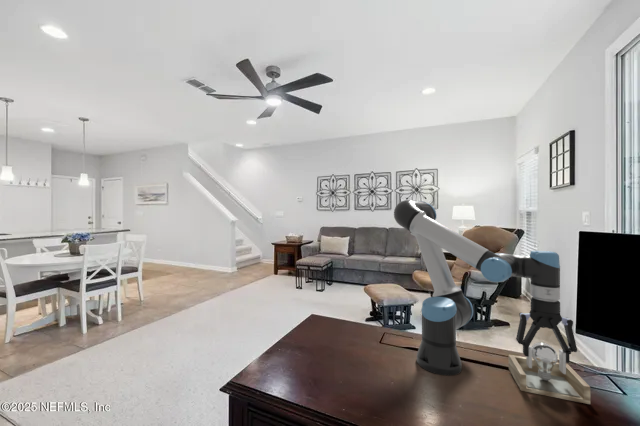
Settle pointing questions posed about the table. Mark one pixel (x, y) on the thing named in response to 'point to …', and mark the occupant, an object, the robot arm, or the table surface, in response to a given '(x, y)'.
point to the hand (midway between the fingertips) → (545, 368)
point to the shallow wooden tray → (549, 381)
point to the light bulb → (544, 359)
